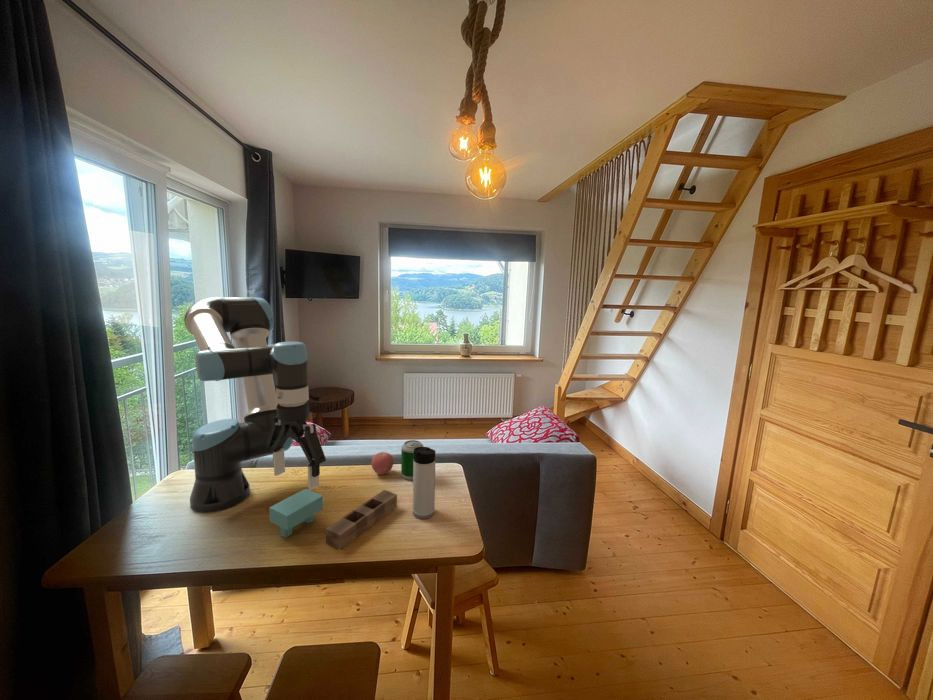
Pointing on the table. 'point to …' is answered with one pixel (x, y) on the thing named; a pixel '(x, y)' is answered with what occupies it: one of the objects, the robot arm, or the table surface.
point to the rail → (360, 519)
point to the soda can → (408, 458)
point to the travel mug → (423, 482)
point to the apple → (382, 463)
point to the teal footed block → (295, 510)
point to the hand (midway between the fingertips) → (296, 480)
